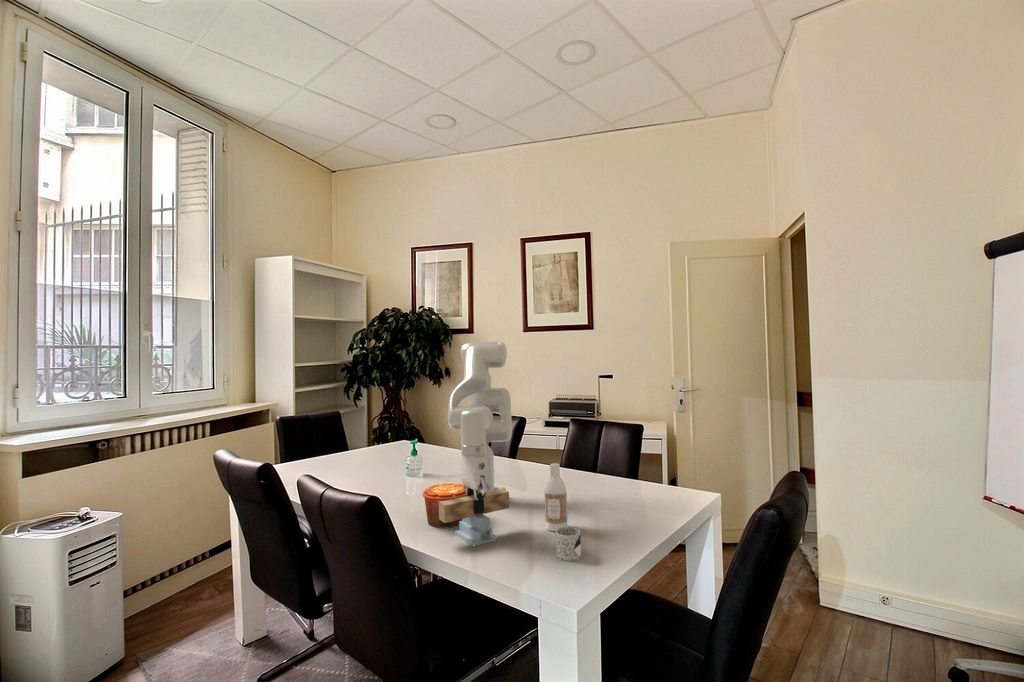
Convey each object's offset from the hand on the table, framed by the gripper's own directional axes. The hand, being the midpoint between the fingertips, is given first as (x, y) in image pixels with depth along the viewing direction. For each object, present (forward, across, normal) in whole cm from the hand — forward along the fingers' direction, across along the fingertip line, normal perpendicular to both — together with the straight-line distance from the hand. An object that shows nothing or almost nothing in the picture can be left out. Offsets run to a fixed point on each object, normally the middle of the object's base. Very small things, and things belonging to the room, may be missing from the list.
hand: (475, 510), depth 145 cm
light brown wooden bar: (+1, 0, 0) cm, 1 cm away
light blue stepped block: (+8, 0, 0) cm, 8 cm away
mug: (+8, -26, -15) cm, 31 cm away
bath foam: (+8, -9, -24) cm, 27 cm away
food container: (+8, +18, +1) cm, 20 cm away
